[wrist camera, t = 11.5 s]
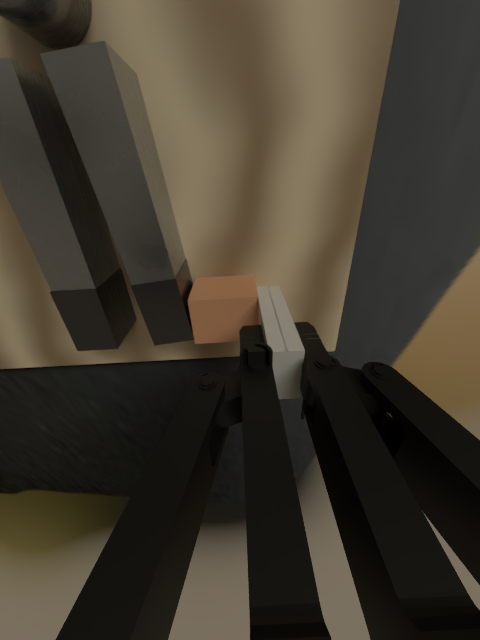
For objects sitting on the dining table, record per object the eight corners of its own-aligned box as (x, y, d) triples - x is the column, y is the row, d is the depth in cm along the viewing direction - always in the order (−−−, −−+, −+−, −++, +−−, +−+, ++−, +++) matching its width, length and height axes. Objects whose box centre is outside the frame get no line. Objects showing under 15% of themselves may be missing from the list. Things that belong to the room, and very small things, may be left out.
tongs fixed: (-50, -80, 10) (-210, -222, 6) (72, -87, 10) (-18, -232, 6) (103, 321, 19) (74, 355, 15) (165, 317, 19) (150, 351, 15)
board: (-16, 361, 22) (-28, 370, 21) (-316, -47, 10) (-376, -71, 9) (329, 342, 22) (334, 351, 21) (402, -87, 10) (421, -115, 9)
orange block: (200, 315, 19) (194, 343, 16) (195, 277, 17) (187, 300, 14) (254, 313, 19) (258, 340, 16) (253, 274, 17) (258, 296, 14)
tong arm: (87, 83, 12) (36, 52, 9) (137, 73, 12) (104, 38, 9) (167, 316, 19) (154, 345, 15) (200, 311, 18) (194, 339, 15)
